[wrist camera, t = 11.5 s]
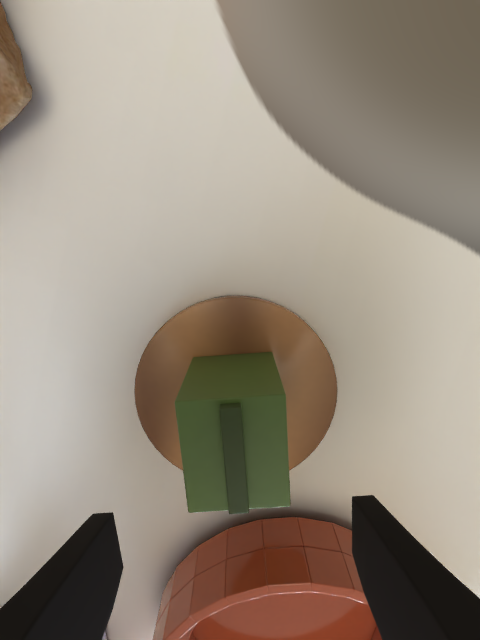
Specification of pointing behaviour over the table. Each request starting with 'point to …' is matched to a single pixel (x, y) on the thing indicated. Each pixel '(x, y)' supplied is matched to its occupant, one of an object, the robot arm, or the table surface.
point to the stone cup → (11, 75)
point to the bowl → (268, 586)
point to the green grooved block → (233, 433)
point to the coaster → (237, 338)
